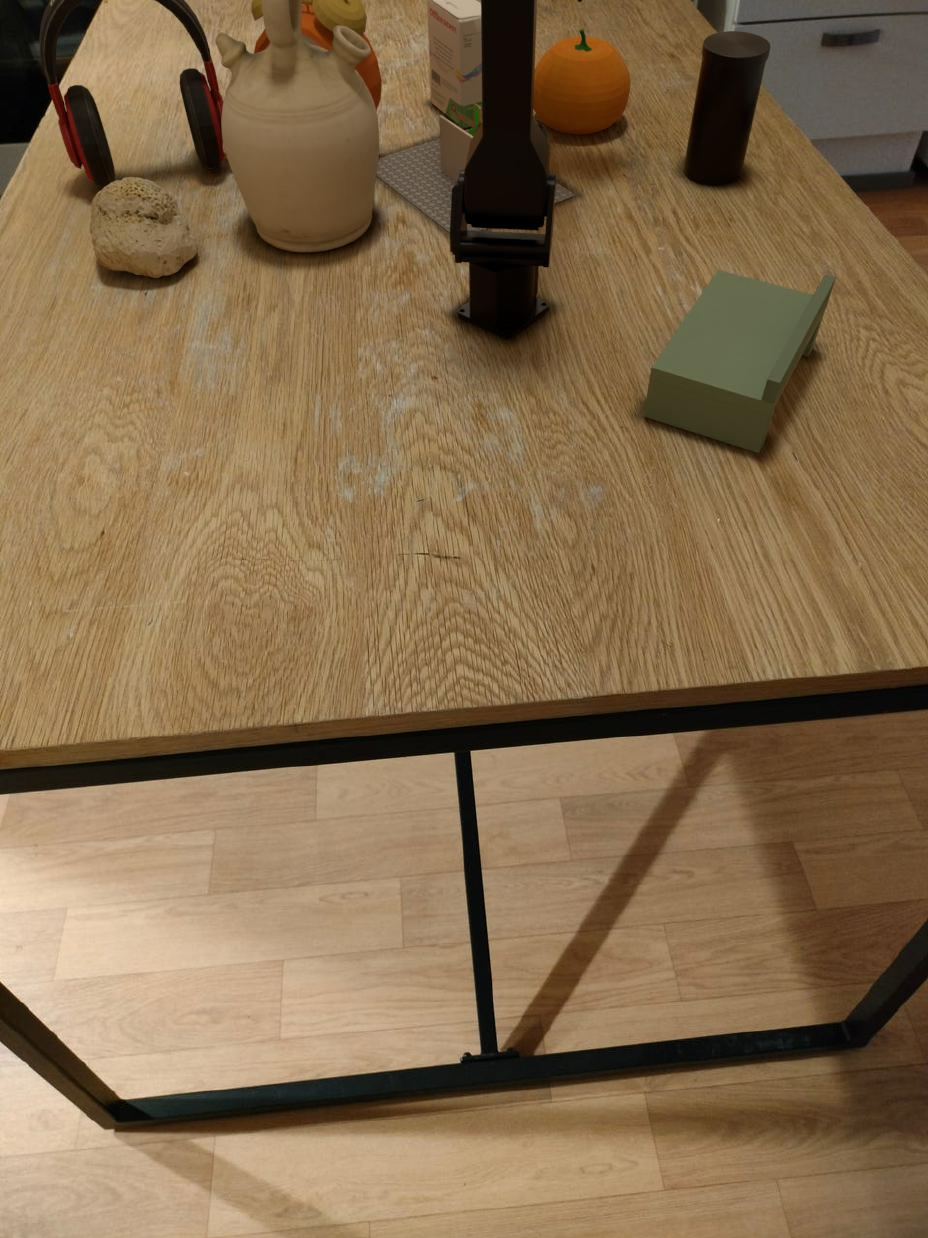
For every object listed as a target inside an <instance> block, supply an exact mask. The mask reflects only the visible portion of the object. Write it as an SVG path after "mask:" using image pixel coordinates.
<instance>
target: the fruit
mask: <svg viewBox="0 0 928 1238" xmlns="http://www.w3.org/2000/svg"><path fill="white" fill-rule="evenodd" d="M579 34H580V36H571V37H566V38H562V39H561V40H558V41H557V42H556V43H554V44H553V45H551V47H550V48H548V49H547V50H546V51H545V53H543V55H542V56H541V57H540V59H539V60H538V62H537V64H536V65H535V74H534V103H533V112H534V113H535V116H536V117H537V118H538V119H539V120H540V122H542V124H543V125H544V126H547V127H548V128H549V129H552V130H554V131H556V132H559V133H564V134H568V135H578V136H579V135H590V134H594V133H598V132H601V131H604V130H605V129H608V128H610V127H611V126H612V125H614V124H615V123H616V122H617V121H618V120H619V119H620V118H621V117H622V115H623V114H624V113H625V110H626V108H627V105H628V101H629V97H630V93H631V75H630V71H629V68H628V66H627V64H626V61H625V60H624V58H623V56H622V55H621V53H620V52H619V51H618V49H617V48H616V47H614V46H613V45H612V44H611V43H610V42H609V41H607V40H604V39H602V38H599V37H595V36H586V34H585V30H584V29H579Z"/></svg>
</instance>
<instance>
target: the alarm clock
mask: <svg viewBox="0 0 928 1238" xmlns="http://www.w3.org/2000/svg"><path fill="white" fill-rule="evenodd" d="M250 5H251V7H250V10H251V14H252V17H253V20H254V21H255V22H256V21H257V20H259V19H261V18H263V12H262V5H261V0H252V1H251V4H250ZM367 18H368V17H367V13H366V10H365V7H364V5H363V3H362V1H361V0H302V23H301V32H302V35H303V38H304V39H305V40H306V41H307V42H308V43H309V44H311V45H315V46H318V47H321V48H324V49H326V50H328V51H329V50H331V49H332V41H333V39H334V35H333V29H334V28H335V27H336V26H345V27H348V28H349V29H351V30H353V31H355V32H356V33H357V34H359V35H360V36H361V37H362V38H363V39H364V40H365V41H366V42H367V43H368V45H369V47H370V49H371V54H370V56H369V57H368V58H367V59H364V60H363V61H362V62H361V63H359V64H358V65H356V67H355V70H356V71H357V72H358V73H359V75H360V76H361V77H362V79H363V81H364V83H365V85H366V86H367V88H368V90H369V92H370V94H371V96H372V99H373V101H374V104H375V108H376V112H377V110H378V108H379V105H380V103H381V100H382V75H381V69H380V66H379V61H378V58H377V55H376V53H375V51H374V49H373V46H372V44H371V43H370V40H369V38H368V37H367V36H366V34H365V33H366V29H367V20H368V19H367ZM270 44H271V42H270V41H269V39H268V36H267V33H266V29H265V28H264V29H263V31H262V32H261V33H260V35H259V36H258V38H257V40H256V42H255V45H254V50H253V54H255V53H258V52H261V51H263V50H265V49H267V48H268V47H269V45H270Z"/></svg>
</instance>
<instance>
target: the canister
mask: <svg viewBox="0 0 928 1238" xmlns="http://www.w3.org/2000/svg"><path fill="white" fill-rule="evenodd" d="M770 52H771V43H770V41H768V39H766V38H765V37H763V36H761V35H758V34H756V33H751V32H746V31H740V30H739V31H737V30H726V31H719V32H715V33H712V34H709V35H708V36H706V37H705V38H704V40H703V43H702V47H701V55H702V57H701V64H700V67H699V68H700V69H699V75H698V80H697V86H696V93H695V97H694V104H693V110H692V116H691V122H690V126H689V127H690V129H689V134H688V138H687V139H688V141H687V146H686V152H685V158H684V164H683V174H684V175H685V176H686V177H687V179H689V180H690V181H692V182H694V183H696V184H700V185H705V186H713V187H717V186H719V187H720V186H726V185H731V184H734V183H735V182H737V181H738V180H739V179H740V178H741V177H742V173H743V168H744V165H745V159H746V154H747V150H748V145H749V141H750V138H751V137H750V136H751V133H752V127H753V122H754V118H755V114H756V110H757V109H756V108H757V104H758V101H759V96H760V90H761V86H762V81H763V78H764V77H763V76H764V72H765V68H766V64H767V63H766V62H767V61H768V60H769V57H770Z"/></svg>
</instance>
